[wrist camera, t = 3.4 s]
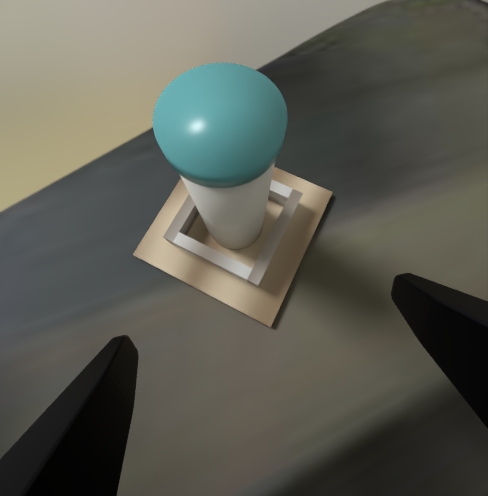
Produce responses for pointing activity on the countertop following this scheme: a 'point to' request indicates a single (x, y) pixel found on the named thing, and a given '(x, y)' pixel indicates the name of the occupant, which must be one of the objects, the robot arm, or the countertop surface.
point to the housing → (238, 260)
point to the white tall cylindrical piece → (223, 145)
